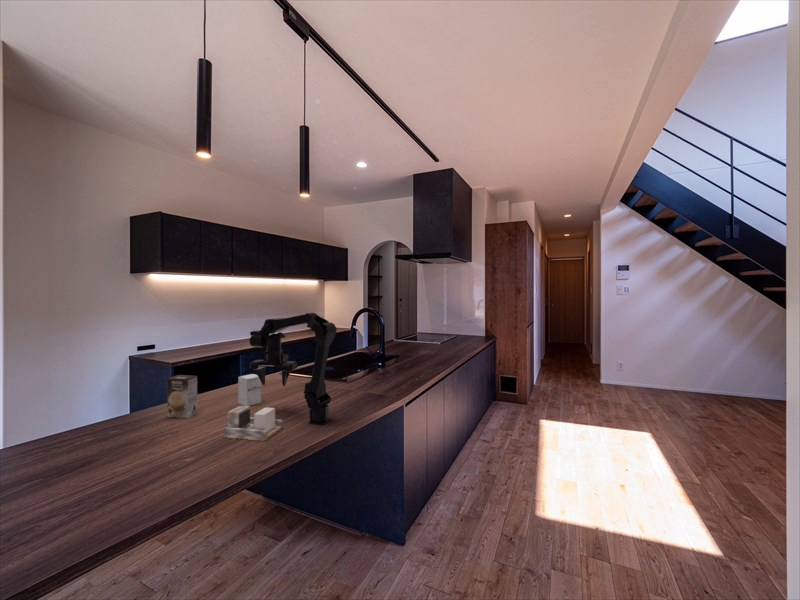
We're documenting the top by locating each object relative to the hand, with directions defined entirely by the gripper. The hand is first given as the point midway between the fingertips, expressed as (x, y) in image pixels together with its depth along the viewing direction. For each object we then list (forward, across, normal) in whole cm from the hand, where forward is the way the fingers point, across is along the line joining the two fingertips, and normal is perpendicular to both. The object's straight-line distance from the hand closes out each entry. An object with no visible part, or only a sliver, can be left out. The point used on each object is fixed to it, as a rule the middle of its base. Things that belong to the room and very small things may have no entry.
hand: (273, 385), depth 145 cm
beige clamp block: (+12, -3, +19) cm, 22 cm away
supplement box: (+12, +18, -10) cm, 24 cm away
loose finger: (+11, -7, +19) cm, 23 cm away
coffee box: (+12, +36, +9) cm, 39 cm away
